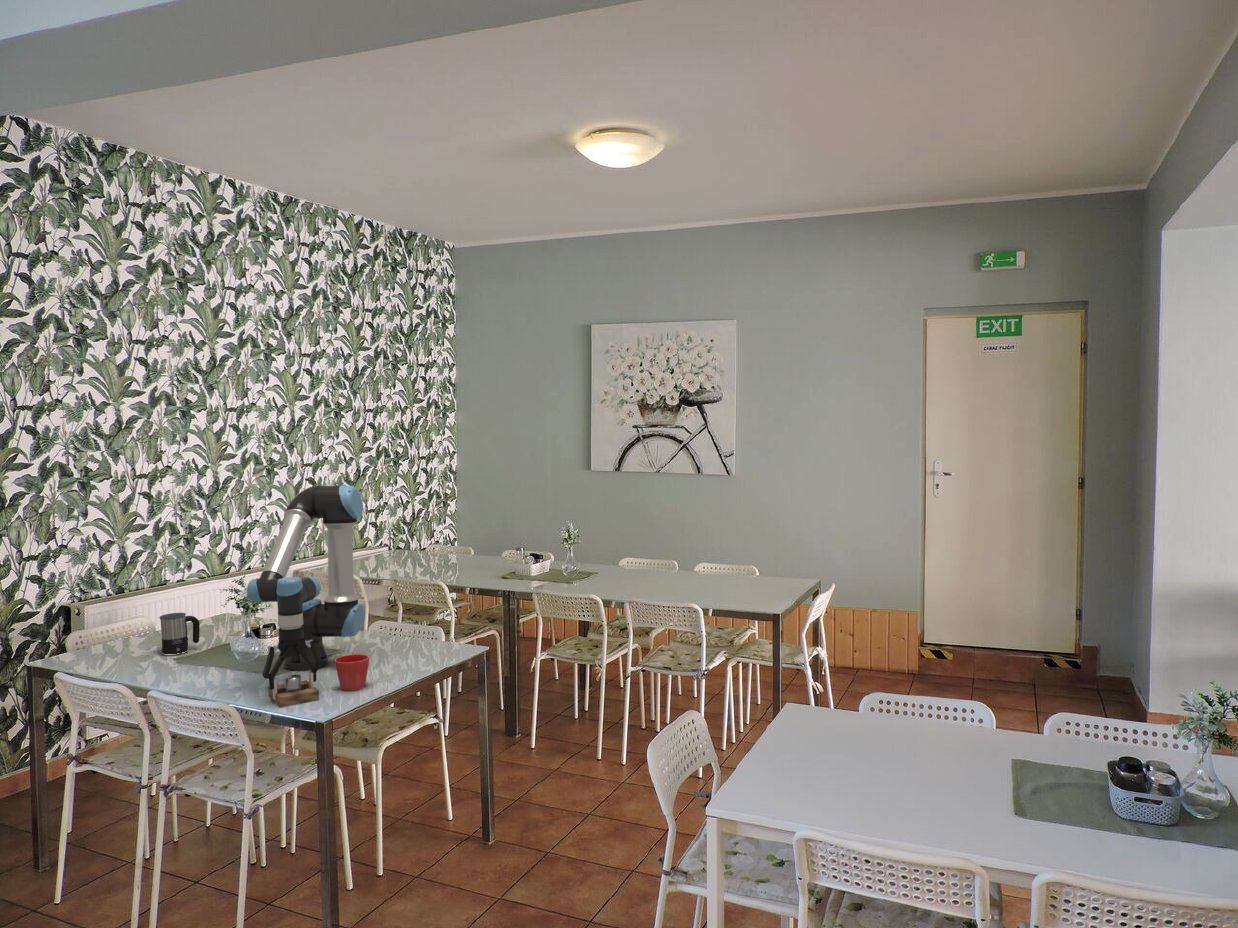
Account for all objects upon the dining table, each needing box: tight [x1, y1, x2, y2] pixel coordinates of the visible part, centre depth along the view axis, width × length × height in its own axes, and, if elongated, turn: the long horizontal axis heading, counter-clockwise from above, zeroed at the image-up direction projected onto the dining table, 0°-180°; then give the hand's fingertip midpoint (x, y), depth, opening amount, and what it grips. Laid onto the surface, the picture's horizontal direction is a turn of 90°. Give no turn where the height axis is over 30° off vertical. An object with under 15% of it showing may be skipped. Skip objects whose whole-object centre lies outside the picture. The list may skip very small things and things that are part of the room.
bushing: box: [283, 674, 302, 693], centre depth 281 cm, size 5×5×7 cm
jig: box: [267, 679, 320, 708], centre depth 282 cm, size 12×14×3 cm
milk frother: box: [158, 612, 201, 654], centre depth 344 cm, size 14×16×15 cm
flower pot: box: [334, 653, 370, 691], centre depth 292 cm, size 11×11×10 cm
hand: (293, 695), depth 282 cm, fingers open, 10 cm apart
